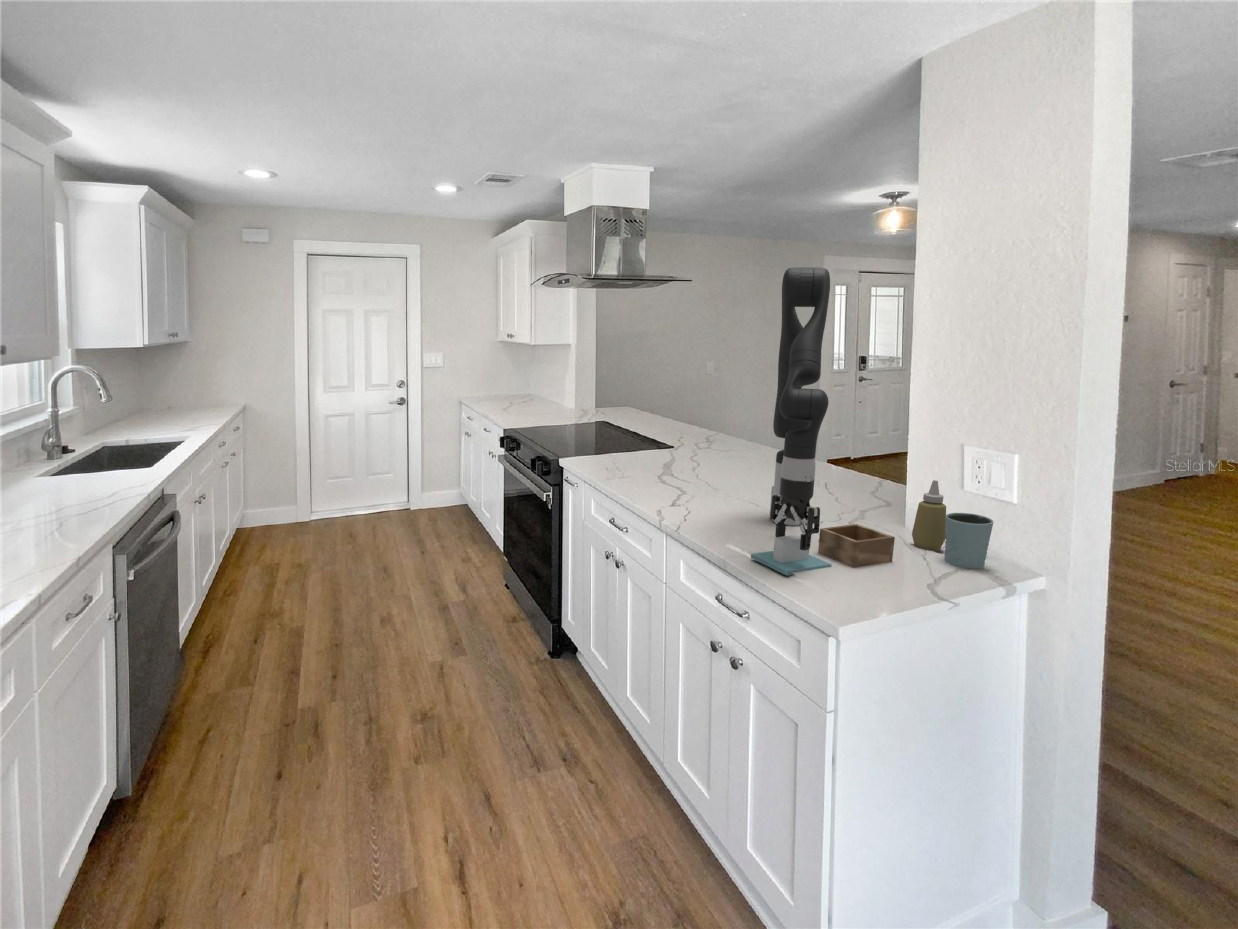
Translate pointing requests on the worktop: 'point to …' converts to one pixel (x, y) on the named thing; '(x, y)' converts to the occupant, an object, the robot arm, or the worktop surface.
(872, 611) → the worktop surface
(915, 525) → the squeeze bottle
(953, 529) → the grey-blue cup
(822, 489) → the worktop surface
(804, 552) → the lid
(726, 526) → the worktop surface
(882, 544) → the walnut box
